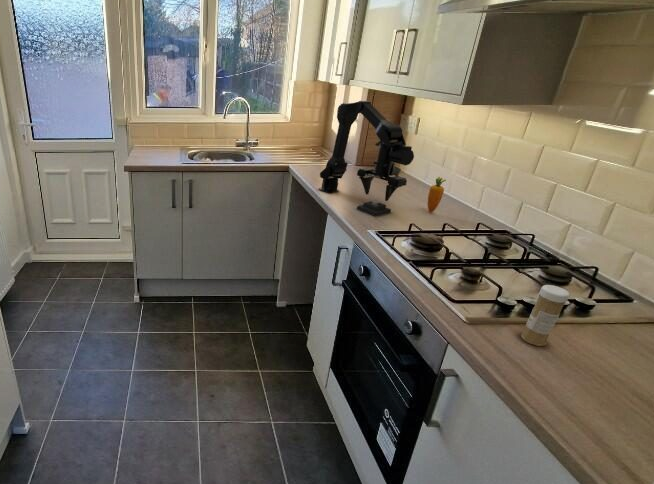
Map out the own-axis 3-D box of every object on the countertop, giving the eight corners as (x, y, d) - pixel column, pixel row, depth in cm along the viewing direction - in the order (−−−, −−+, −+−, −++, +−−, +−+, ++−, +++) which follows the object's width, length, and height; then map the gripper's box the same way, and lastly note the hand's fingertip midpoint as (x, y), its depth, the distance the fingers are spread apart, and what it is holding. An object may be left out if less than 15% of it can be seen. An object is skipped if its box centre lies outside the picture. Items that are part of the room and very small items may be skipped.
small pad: (363, 206, 170) (363, 202, 169) (372, 204, 173) (373, 200, 172) (375, 210, 165) (376, 207, 165) (385, 208, 168) (386, 204, 167)
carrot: (425, 209, 171) (435, 174, 165) (438, 212, 168) (449, 177, 162) (421, 212, 168) (431, 176, 162) (435, 215, 165) (445, 179, 158)
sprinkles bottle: (521, 331, 96) (543, 281, 91) (546, 340, 94) (570, 289, 88) (519, 340, 93) (541, 289, 88) (545, 350, 90) (569, 297, 85)
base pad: (356, 209, 171) (358, 200, 170) (371, 205, 175) (373, 196, 173) (375, 216, 164) (377, 206, 162) (390, 212, 168) (392, 203, 166)
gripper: (420, 162, 156) (410, 201, 163) (378, 152, 171) (370, 188, 178) (401, 165, 152) (391, 205, 158) (359, 155, 167) (352, 192, 173)
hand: (376, 197), depth 167 cm, fingers open, 9 cm apart
